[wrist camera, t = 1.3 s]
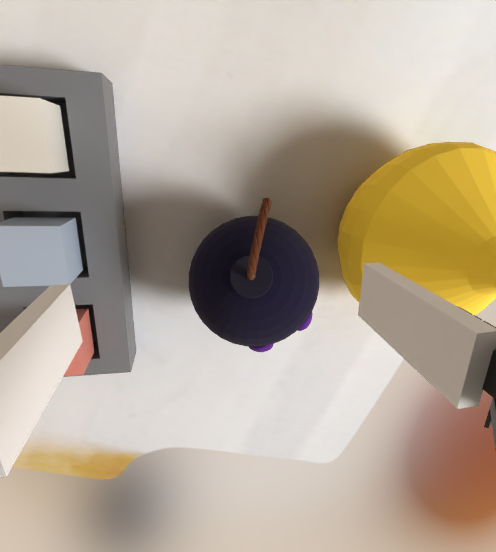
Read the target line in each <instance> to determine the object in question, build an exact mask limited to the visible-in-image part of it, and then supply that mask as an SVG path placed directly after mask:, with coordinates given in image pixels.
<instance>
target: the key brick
mask: <svg viewBox="0 0 496 552" xmlns="http://www.w3.org/2000/svg"><path fill="white" fill-rule="evenodd" d="M76 313H77V318H78V322H79V327H80V331H81V336H82V341H83V342H82V344H81V345H80V347H79V349H78V351H77V353H76V354H75V356H74V358H73V360H72V361H71V363H70V365H69V367H68V368H67V370H66V372H65V374H64V376H77V375H84V373H85V370H86V368H87V366H88V364H89V362H90V360H91V358H92V356H93V354H94V346H93V339H92V332H91V325H90V318H89V310H88V308H87V309H76Z"/></svg>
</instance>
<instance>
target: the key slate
mask: <svg viewBox="0 0 496 552" xmlns="http://www.w3.org/2000/svg"><path fill="white" fill-rule="evenodd" d="M82 271H83V267H82V260H81V253H80V246H79V239H78V231H77V224H76V218H61V217H13V218H10V219H7V220H4V221H2V222H0V276H1V280H2V285H3V287H18V286H50V285H63V284H71V283H72V282H73V281H74V279H75V278H76V277H77V276H78V275H79V274H80V273H81V272H82Z"/></svg>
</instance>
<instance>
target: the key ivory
mask: <svg viewBox="0 0 496 552" xmlns="http://www.w3.org/2000/svg"><path fill="white" fill-rule="evenodd" d="M65 171H69V167H68V160H67V152H66V145H65V138H64V131H63V124H62V117H61V109H60V106H59V105H56V104H54V103H51V102H49V101H46V100H43V99H41V98H30V97H15V96H0V172H28V173H57V172H65Z"/></svg>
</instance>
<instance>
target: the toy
mask: <svg viewBox="0 0 496 552" xmlns="http://www.w3.org/2000/svg"><path fill="white" fill-rule="evenodd" d="M270 206H271V200H270V199H269V198H267V199H266V198H264V199H263V203H262V205H261V209H260V214H259V216H246V217H241V218H236V219H233V220H231V221H228V222H226V223H223V224H222V225H220V226H219V227H217V228H216V229H214V230H213V231H212V232H211V233H210V234H209V235H208V236H207V237H206V238H205V239H204V240H203V241H202V243H201V244H200V246H199V247H198V248H197V250H196V252H195V255H194V257H193V259H192V262H191V267H190V271H189V291H190V297H191V300H192V303H193V306H194V308H195V311H196V312H197V314H198V315H199V317H200V319H201V320H202V322H203V323H204V324H205V325H206V326H207V327H208V328H209V329H210V330H211V331H212V332H214V333H215V334H216V335H218V336H219V337H221V338H222V339H225V340H227V341H229V342H232V343H234V344H239V345H243V346H249V348H250V349H252V350H254V351H257V352H265V351H268V350H270V349H271V348H272V347H273V343H276V342H278V341H281V340H283V339H285V338H287V337H288V336H290V335H291V334H293V333H294V332H296V331H297V330H298V331H301V330H304V329H306V328H307V327H308V326H309V324H310V322H311V319H312V310H313V307H314V305H315V303H316V300H317V295H318V290H319V272H318V267H317V262H316V260H315V257H314V255H313V253H312V250H311V249H310V247H309V246H308V244H307V243H306V241H305V240H304V239H303V238H302V237H301V236H300V235H299V234H298V233H297V232H296V231H295V230H294V229H292V228H291V227H289V226H288V225H286V224H285V223H282V222H280V221H277V220H275V219H272V218H268V214H269V210H270Z"/></svg>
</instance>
